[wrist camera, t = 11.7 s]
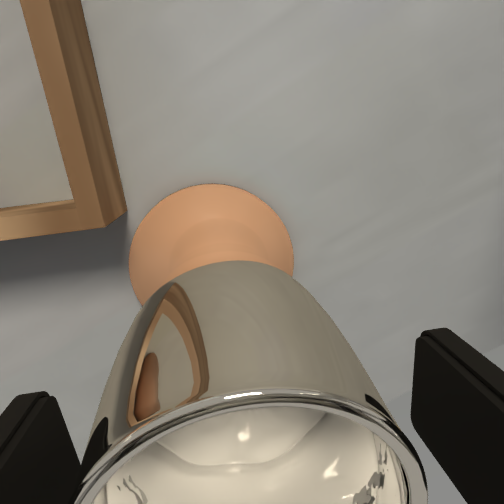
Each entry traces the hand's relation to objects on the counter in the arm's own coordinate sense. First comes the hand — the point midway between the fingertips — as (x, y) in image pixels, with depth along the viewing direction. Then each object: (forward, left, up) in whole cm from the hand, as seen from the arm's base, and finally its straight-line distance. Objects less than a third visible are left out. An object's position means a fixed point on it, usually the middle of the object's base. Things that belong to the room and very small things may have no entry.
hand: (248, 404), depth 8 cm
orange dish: (+1, 0, -13) cm, 13 cm away
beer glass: (0, 0, -12) cm, 12 cm away
